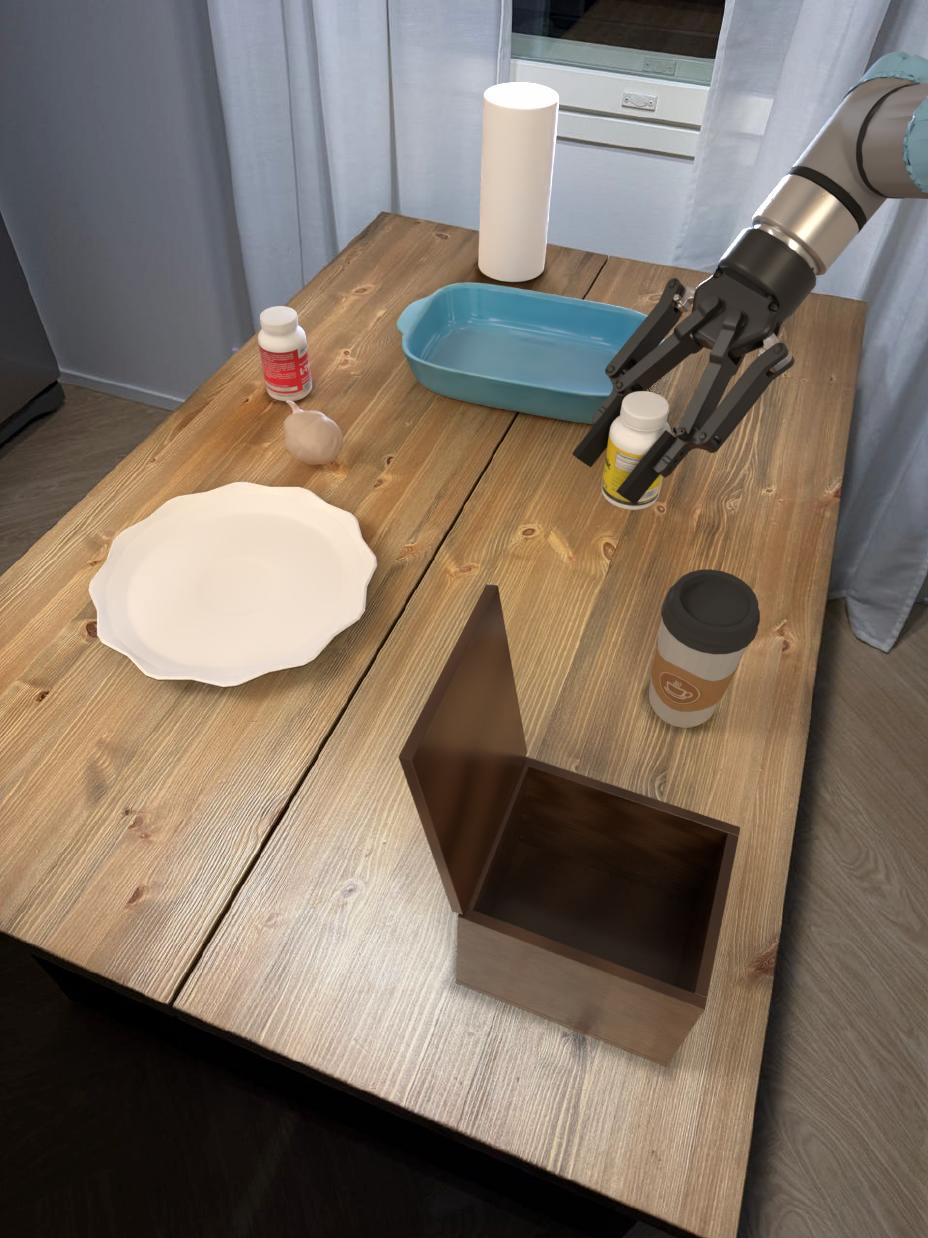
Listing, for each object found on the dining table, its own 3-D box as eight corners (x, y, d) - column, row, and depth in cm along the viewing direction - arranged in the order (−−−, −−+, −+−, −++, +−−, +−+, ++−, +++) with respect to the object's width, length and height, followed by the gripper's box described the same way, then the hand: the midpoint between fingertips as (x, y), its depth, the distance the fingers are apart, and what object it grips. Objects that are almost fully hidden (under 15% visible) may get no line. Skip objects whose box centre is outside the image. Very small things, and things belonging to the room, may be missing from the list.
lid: (498, 584, 55) (486, 582, 55) (411, 759, 47) (397, 756, 47) (527, 752, 67) (517, 750, 68) (463, 915, 59) (451, 911, 59)
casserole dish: (374, 397, 120) (370, 350, 114) (429, 315, 134) (428, 269, 128) (646, 453, 112) (656, 406, 107) (673, 360, 127) (684, 314, 121)
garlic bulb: (327, 437, 114) (321, 383, 108) (352, 463, 110) (347, 409, 104) (281, 454, 111) (271, 401, 105) (304, 482, 108) (296, 428, 102)
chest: (702, 901, 74) (740, 827, 64) (666, 1067, 65) (704, 1010, 56) (512, 834, 77) (522, 754, 68) (455, 983, 69) (457, 916, 59)
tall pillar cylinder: (549, 254, 147) (564, 85, 128) (537, 285, 140) (552, 112, 121) (486, 245, 148) (492, 78, 129) (471, 276, 141) (475, 104, 122)
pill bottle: (312, 402, 119) (301, 327, 110) (265, 404, 118) (251, 328, 110) (313, 375, 123) (303, 301, 114) (268, 377, 122) (255, 302, 114)
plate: (39, 605, 94) (31, 590, 92) (243, 465, 110) (240, 450, 108) (232, 749, 83) (227, 735, 81) (429, 571, 98) (429, 555, 96)
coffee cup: (622, 711, 86) (648, 608, 75) (661, 656, 91) (691, 551, 79) (701, 753, 83) (741, 653, 72) (737, 694, 88) (780, 591, 76)
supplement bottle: (611, 467, 85) (627, 379, 78) (666, 484, 84) (686, 395, 76) (591, 501, 82) (605, 412, 75) (647, 519, 80) (667, 430, 73)
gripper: (884, 322, 71) (691, 550, 77) (719, 232, 81) (559, 439, 87) (863, 276, 65) (656, 527, 71) (688, 185, 75) (519, 411, 81)
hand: (603, 478), depth 79 cm, fingers closed on supplement bottle, 5 cm apart
